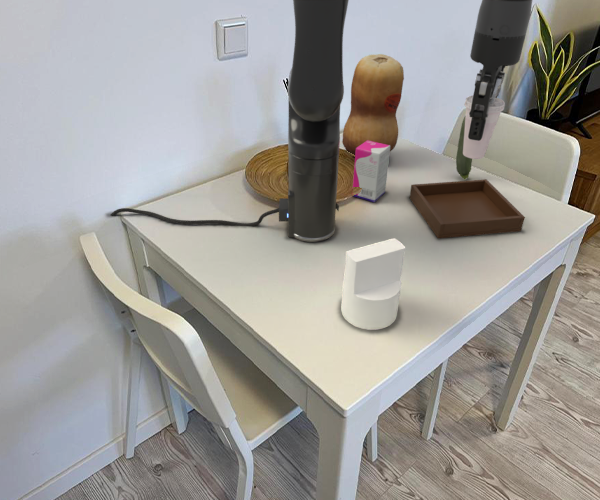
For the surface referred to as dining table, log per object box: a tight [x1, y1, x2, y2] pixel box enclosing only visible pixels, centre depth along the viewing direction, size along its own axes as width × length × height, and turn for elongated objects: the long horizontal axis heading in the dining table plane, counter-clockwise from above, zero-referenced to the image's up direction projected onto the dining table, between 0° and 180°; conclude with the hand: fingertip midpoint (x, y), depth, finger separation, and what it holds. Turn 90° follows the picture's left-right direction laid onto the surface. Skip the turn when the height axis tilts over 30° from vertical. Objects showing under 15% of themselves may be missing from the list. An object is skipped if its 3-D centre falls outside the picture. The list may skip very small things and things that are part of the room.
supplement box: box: [352, 140, 391, 203], centre depth 111 cm, size 6×6×12 cm
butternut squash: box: [342, 53, 405, 155], centre depth 123 cm, size 14×13×25 cm
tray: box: [409, 178, 526, 240], centre depth 107 cm, size 18×17×3 cm
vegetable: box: [455, 116, 473, 181], centre depth 116 cm, size 4×4×20 cm
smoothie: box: [463, 95, 506, 160], centre depth 87 cm, size 6×6×14 cm
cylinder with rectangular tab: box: [340, 237, 406, 331], centre depth 79 cm, size 9×9×12 cm
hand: (478, 131), depth 88 cm, fingers closed on smoothie, 6 cm apart
